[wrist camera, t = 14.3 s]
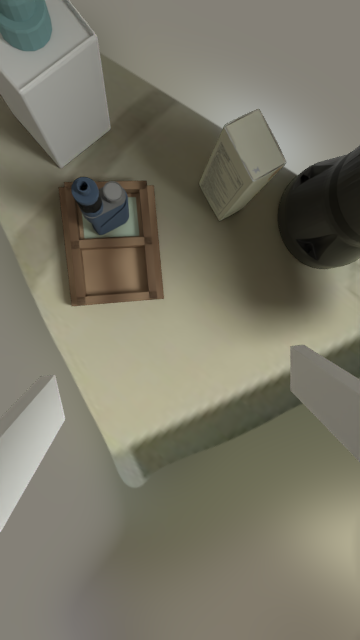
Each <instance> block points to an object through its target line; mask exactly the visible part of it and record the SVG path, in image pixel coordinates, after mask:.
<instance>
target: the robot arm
mask: <svg viewBox="0 0 360 640" xmlns="http://www.w3.org/2000/svg"><path fill="white" fill-rule="evenodd" d="M278 223H279V229H280V233H281V236H282V239H283V241H284V243H285V245H286V247H287V248H288V250H289V251H290V252H291V253H292V254H293V255H294V256H295V257H296V258H297V259H298V260H299V261H301V262H302V263H304V264H306V265H308V266H311V267H314V268H319V269H330V268H335V267H340V266H344V265H347V264H350V263H352V262H354V261H356V260H358V259H359V258H360V146H359V147H357V148H356V149H355V150H354V151H352V152H350V153H349V154H347V155H344V156H340V157H336V158H333V159H329V160H325V161H322V162H318V163H316V164H314V165H312V166H310V167H308V168H307V169H305V170H304V171H303V172H302V173H300V174H299V175H298V176H297V177H295V178H294V179H293V180H292V181H291V182H290V184H289V185H288V186H287V188H286V189H285V191H284V193H283V195H282V198H281V201H280V205H279V211H278ZM290 358H291V391H292V392H293V393H294V394H295V396H296V397H297V398H298V399H299V400H300V401H301V402H302V403H303V404H304V405H305V406H306V407H307V408H308V409H309V410H310V411H311V412H312V413H313V414H314V415H315V416H316V417H317V418H318V419H319V420H320V421H321V422H322V423H323V424H324V426H325V427H326V428H327V429H328V430H329V431H330V432H331V433H332V434H333V435H334V436H335V437H336V438H337V439H338V440H339V441H340V442H341V443H342V444H343V445H344V446H345V447H346V448H347V449H348V450H349V451H350V452H351V453H352V454H353V455H354V457H355V458H356V459H357V460H358V461H359V462H360V380H359V379H358V378H356V377H355V376H353V375H351V374H350V373H348V372H347V371H345V370H343V369H342V368H340V367H339V366H337V365H335V364H334V363H332V362H331V361H329V360H327V359H326V358H324V357H323V356H321V355H319V354H318V353H316V352H314V351H313V350H311V349H310V348H308V347H306V346H305V345H297V346H290ZM64 420H65V416H64V412H63V407H62V403H61V398H60V394H59V390H58V385H57V380H56V376H55V375H47V376H41V377H40V378H39V379H38V380H37V381H36V382H35V383H34V384H33V385H32V386H31V387H30V388H29V389H28V390H27V391H26V392H25V393H24V394H23V395H22V396H21V397H20V398H19V399H18V400H17V401H16V402H15V403H14V404H13V405H12V406H11V407H10V408H9V409H8V410H7V411H6V412H5V414H4V415H2V417H1V418H0V532H1V530H2V529H3V527H4V525H5V523H6V522H7V520H8V518H9V516H10V514H11V513H12V511H13V509H14V507H15V506H16V504H17V502H18V501H19V499H20V497H21V495H22V494H23V492H24V490H25V488H26V487H27V485H28V483H29V481H30V479H31V478H32V476H33V474H34V473H35V471H36V469H37V468H38V466H39V464H40V462H41V461H42V459H43V457H44V455H45V454H46V452H47V450H48V448H49V447H50V445H51V443H52V441H53V440H54V438H55V436H56V434H57V433H58V431H59V429H60V427H61V425H62V424H63V422H64Z"/></svg>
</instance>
